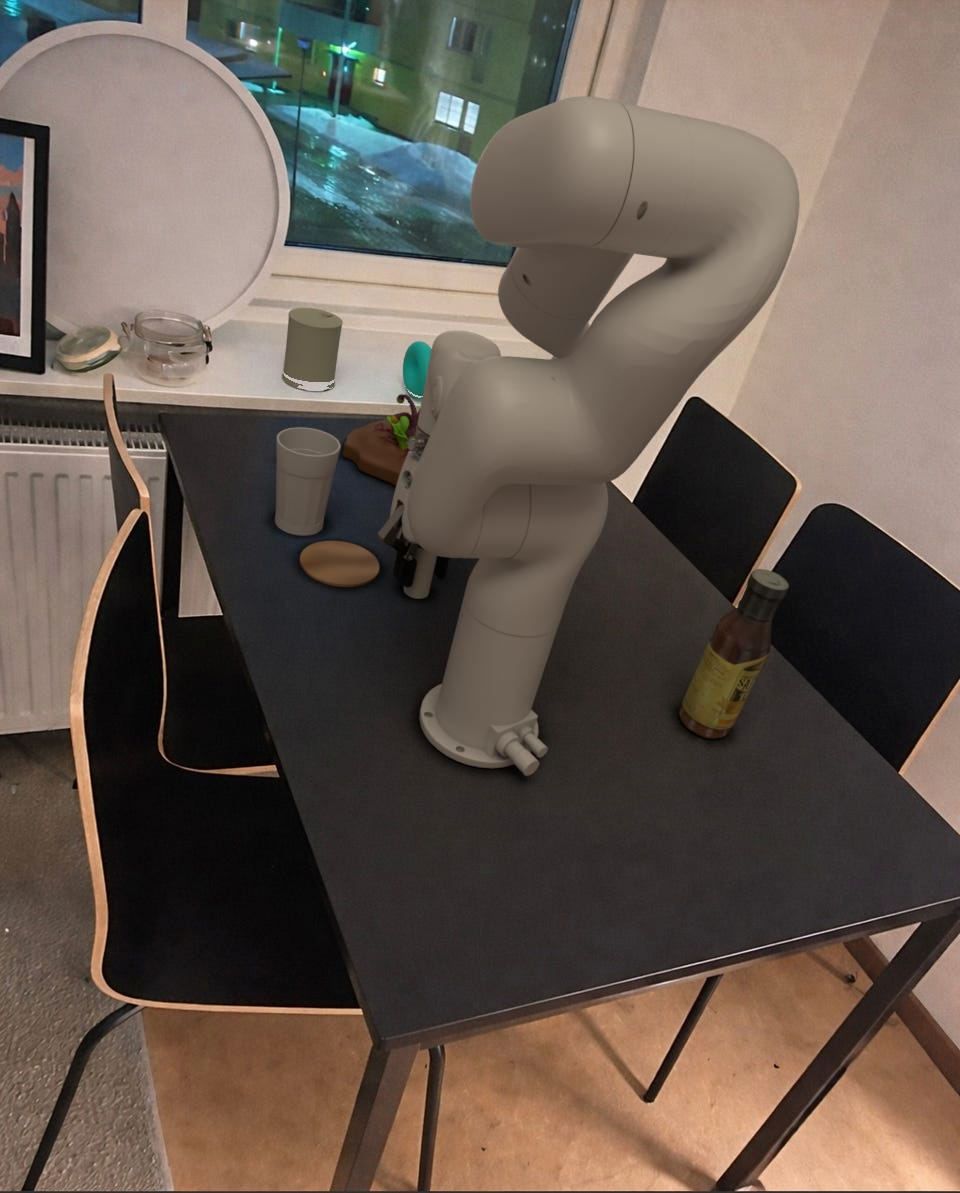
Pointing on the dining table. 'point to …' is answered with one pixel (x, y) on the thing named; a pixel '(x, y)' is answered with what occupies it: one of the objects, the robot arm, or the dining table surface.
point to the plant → (383, 444)
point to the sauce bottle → (733, 658)
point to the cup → (304, 478)
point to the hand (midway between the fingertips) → (419, 576)
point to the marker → (422, 574)
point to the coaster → (339, 563)
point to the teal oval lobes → (416, 367)
